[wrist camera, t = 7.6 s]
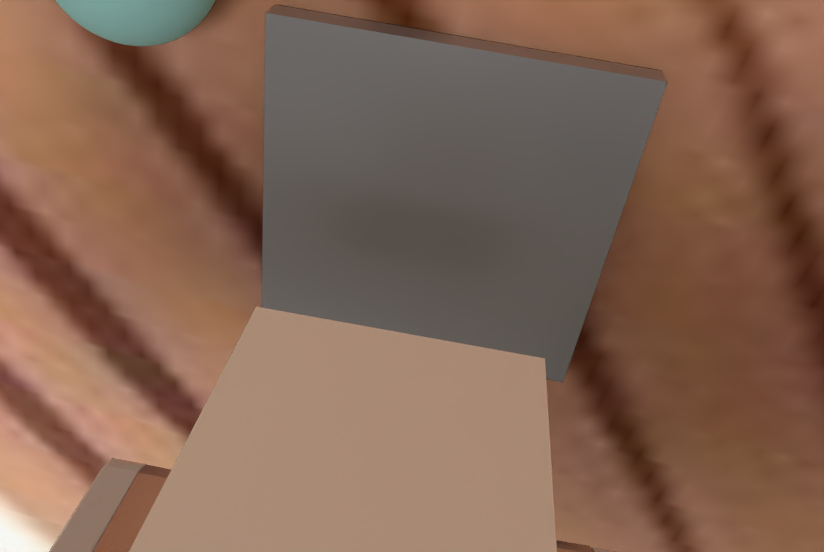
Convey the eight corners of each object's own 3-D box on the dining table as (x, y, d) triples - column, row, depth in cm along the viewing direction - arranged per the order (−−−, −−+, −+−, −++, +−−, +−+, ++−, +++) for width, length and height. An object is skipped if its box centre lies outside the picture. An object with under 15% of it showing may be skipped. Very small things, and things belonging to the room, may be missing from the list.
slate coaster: (660, 70, 16) (667, 82, 15) (561, 364, 21) (562, 381, 20) (275, 4, 16) (265, 12, 15) (269, 310, 21) (261, 326, 21)
